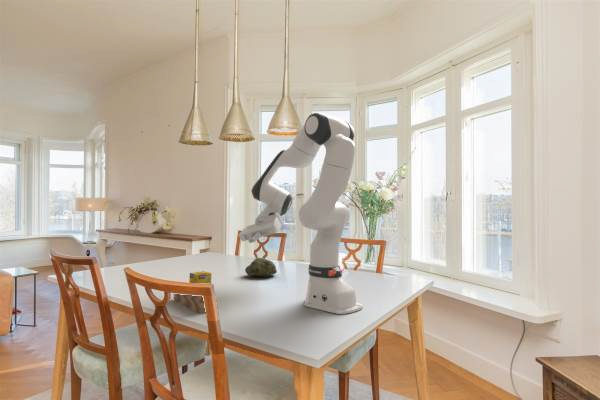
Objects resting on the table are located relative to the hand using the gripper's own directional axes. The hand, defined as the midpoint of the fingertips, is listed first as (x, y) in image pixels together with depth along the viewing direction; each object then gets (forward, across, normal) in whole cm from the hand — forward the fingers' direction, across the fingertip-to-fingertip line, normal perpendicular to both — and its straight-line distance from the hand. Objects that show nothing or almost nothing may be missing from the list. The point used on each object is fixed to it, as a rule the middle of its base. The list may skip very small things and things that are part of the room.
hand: (251, 241), depth 143 cm
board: (+32, -12, +3) cm, 34 cm away
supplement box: (+27, -13, +5) cm, 31 cm away
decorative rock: (-16, -23, +30) cm, 41 cm away
